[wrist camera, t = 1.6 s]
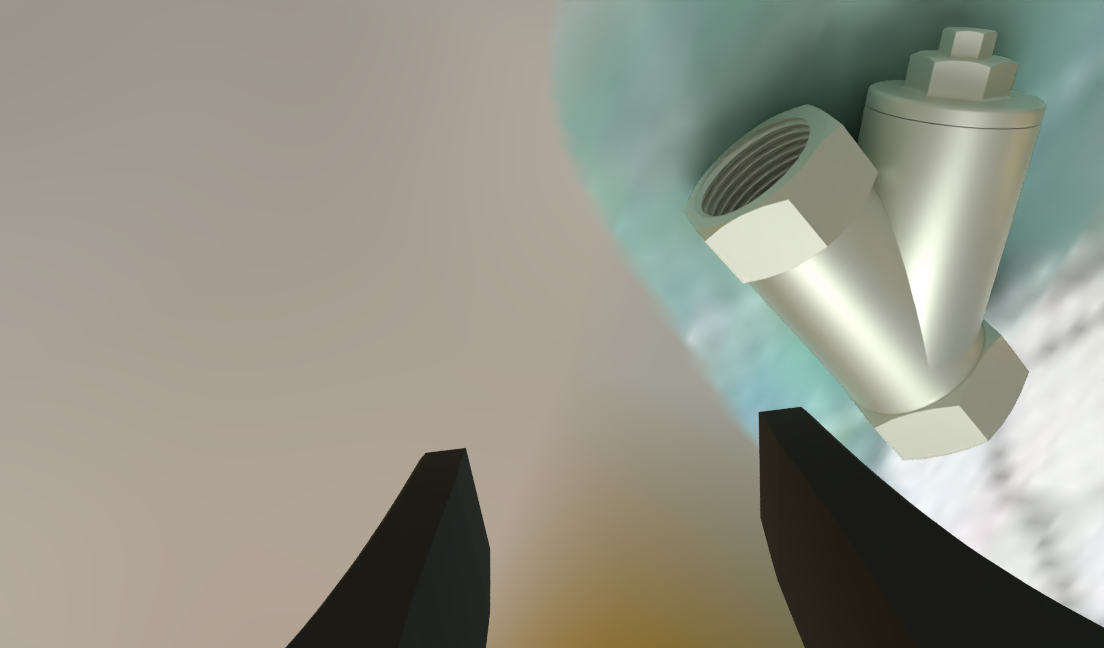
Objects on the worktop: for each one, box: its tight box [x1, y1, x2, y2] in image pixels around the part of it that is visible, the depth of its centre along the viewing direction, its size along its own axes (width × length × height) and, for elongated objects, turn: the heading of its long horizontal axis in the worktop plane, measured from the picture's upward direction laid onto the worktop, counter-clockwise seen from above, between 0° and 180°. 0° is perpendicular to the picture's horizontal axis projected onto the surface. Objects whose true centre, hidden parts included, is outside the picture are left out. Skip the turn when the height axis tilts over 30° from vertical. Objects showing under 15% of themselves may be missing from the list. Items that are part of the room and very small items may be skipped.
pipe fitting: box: [684, 27, 1046, 460], centre depth 18 cm, size 8×4×7 cm
